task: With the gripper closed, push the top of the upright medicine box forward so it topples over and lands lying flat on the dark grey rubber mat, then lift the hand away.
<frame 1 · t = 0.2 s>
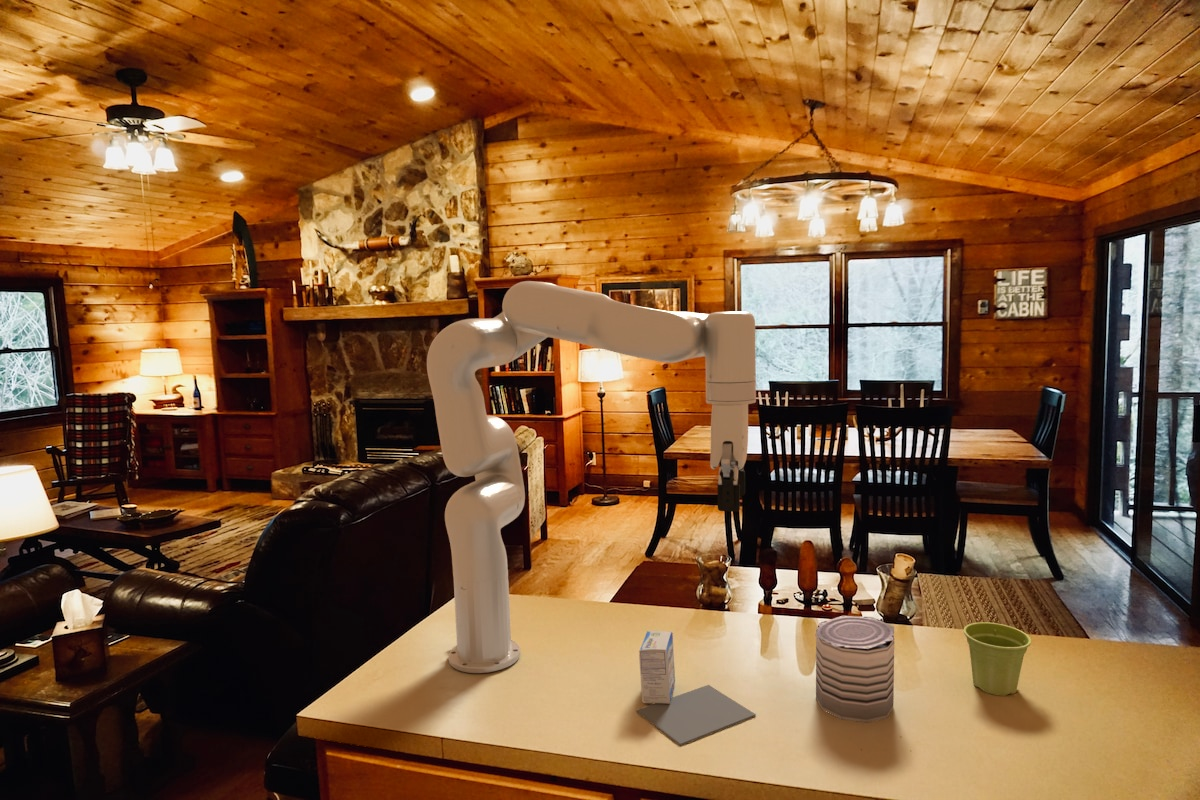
hand: (731, 502, 118), 31 cm above the worktop, tool pointing down, fingers open, 9 cm apart
can: (854, 704, 116), on the worktop
medicine box: (659, 694, 121), on the worktop, touching mat
plant pot: (995, 688, 120), on the worktop
mat: (695, 713, 114), on the worktop
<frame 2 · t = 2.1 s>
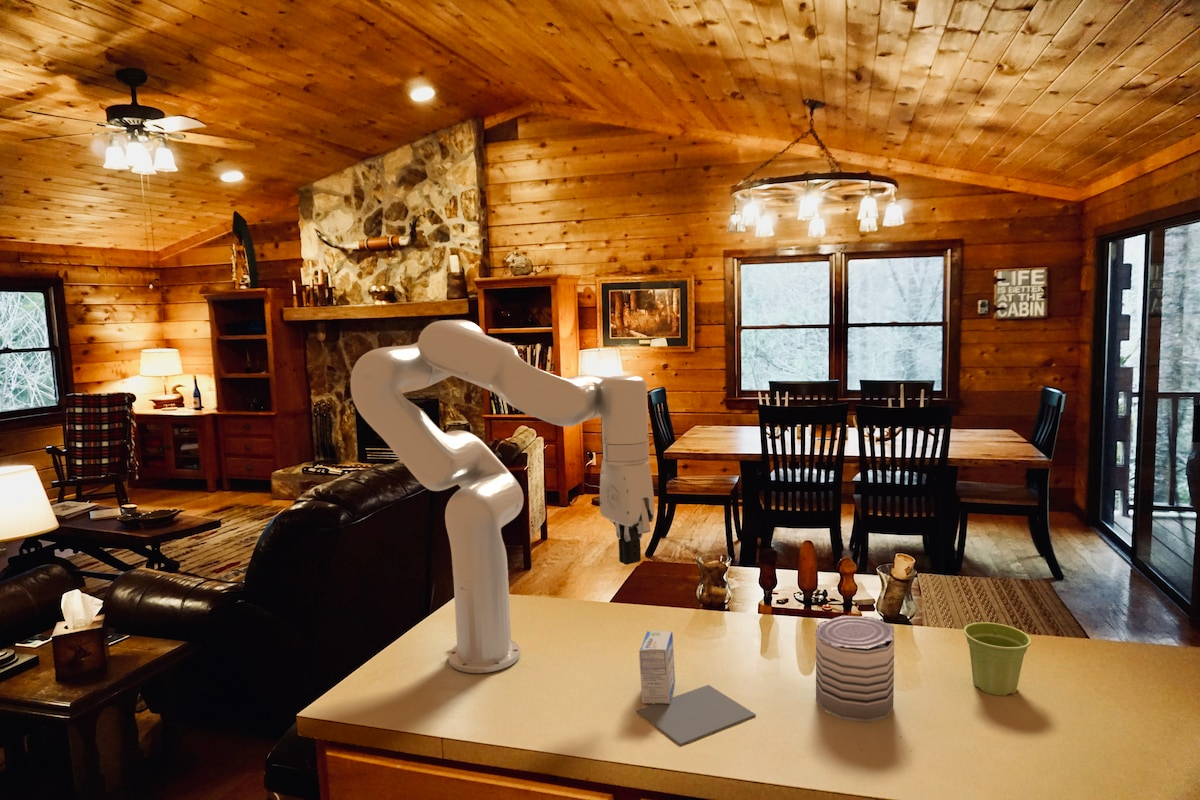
hand: (630, 561, 125), 20 cm above the worktop, tool pointing down, fingers closed
nothing on the worktop moved.
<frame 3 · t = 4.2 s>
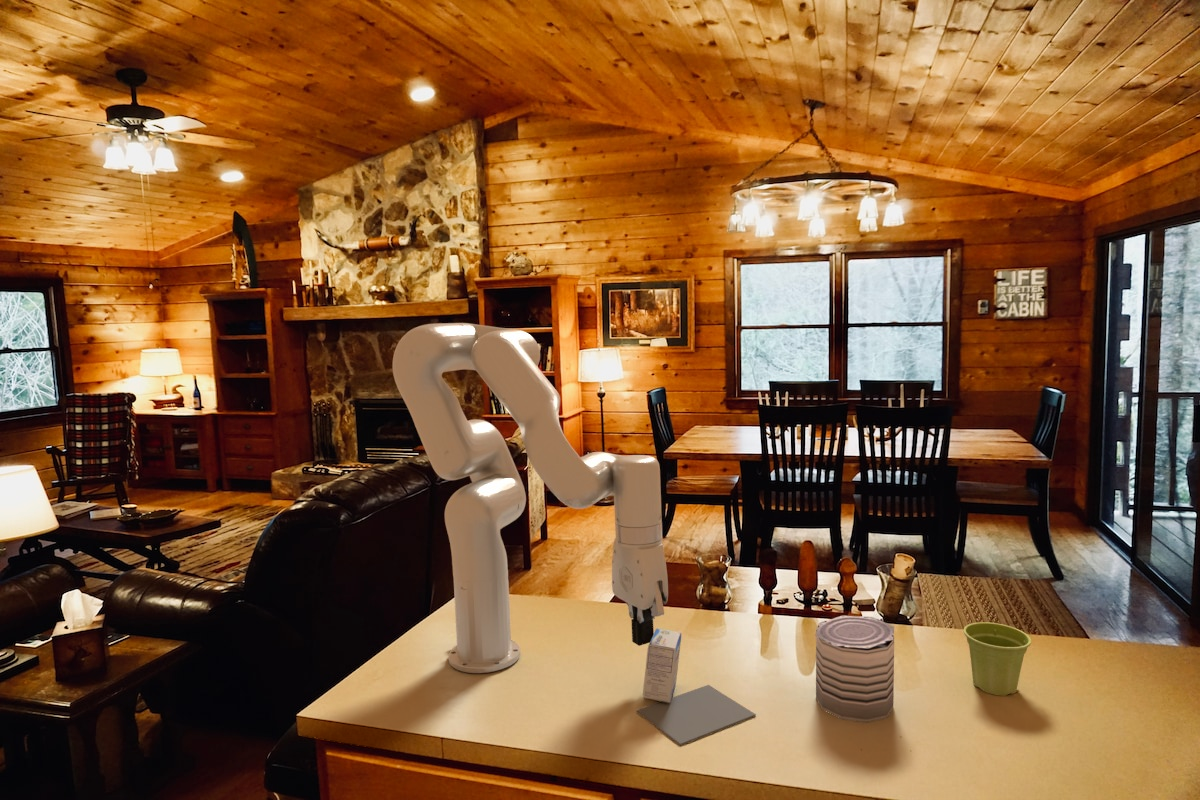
hand: (643, 641, 124), 7 cm above the worktop, tool pointing down, fingers closed
medicine box: (659, 692, 121), on the worktop, touching gripper
everything else where it was.
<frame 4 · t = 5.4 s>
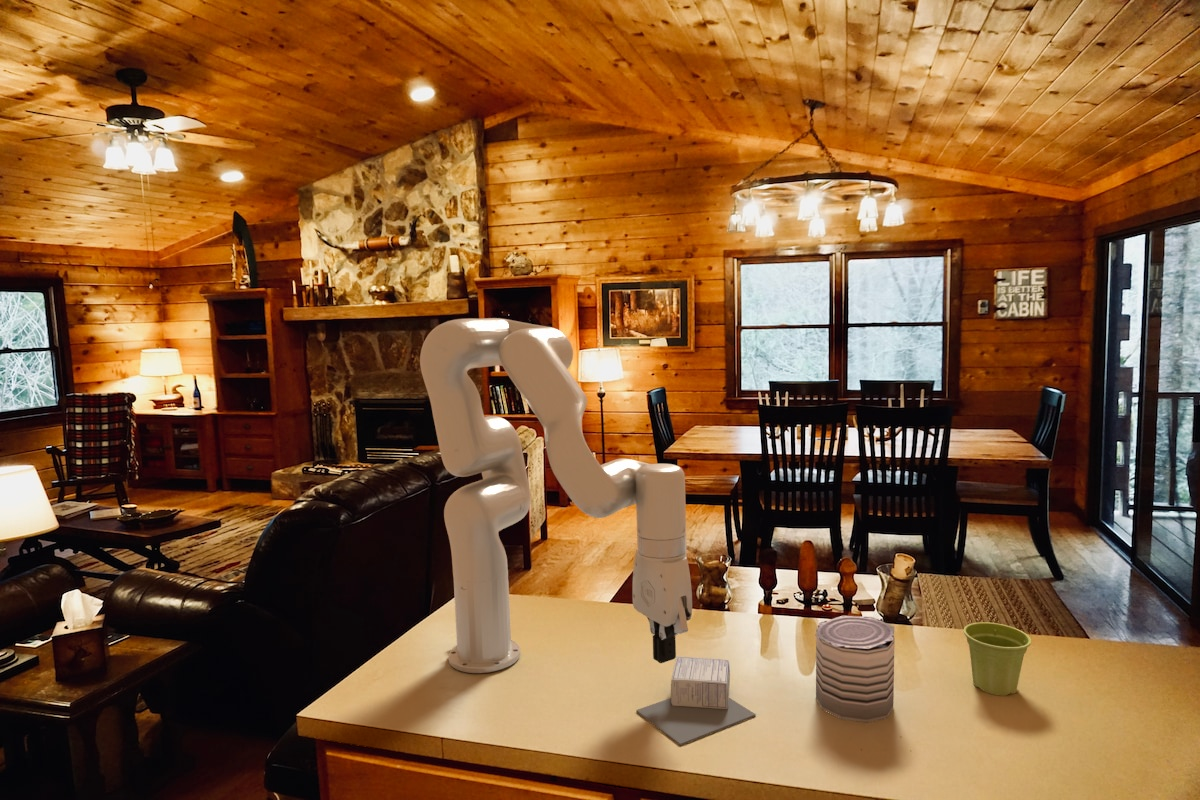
hand: (664, 659, 119), 6 cm above the worktop, tool pointing down, fingers closed
medicine box: (672, 679, 120), point 3 cm above the worktop, touching mat
everything else where it was.
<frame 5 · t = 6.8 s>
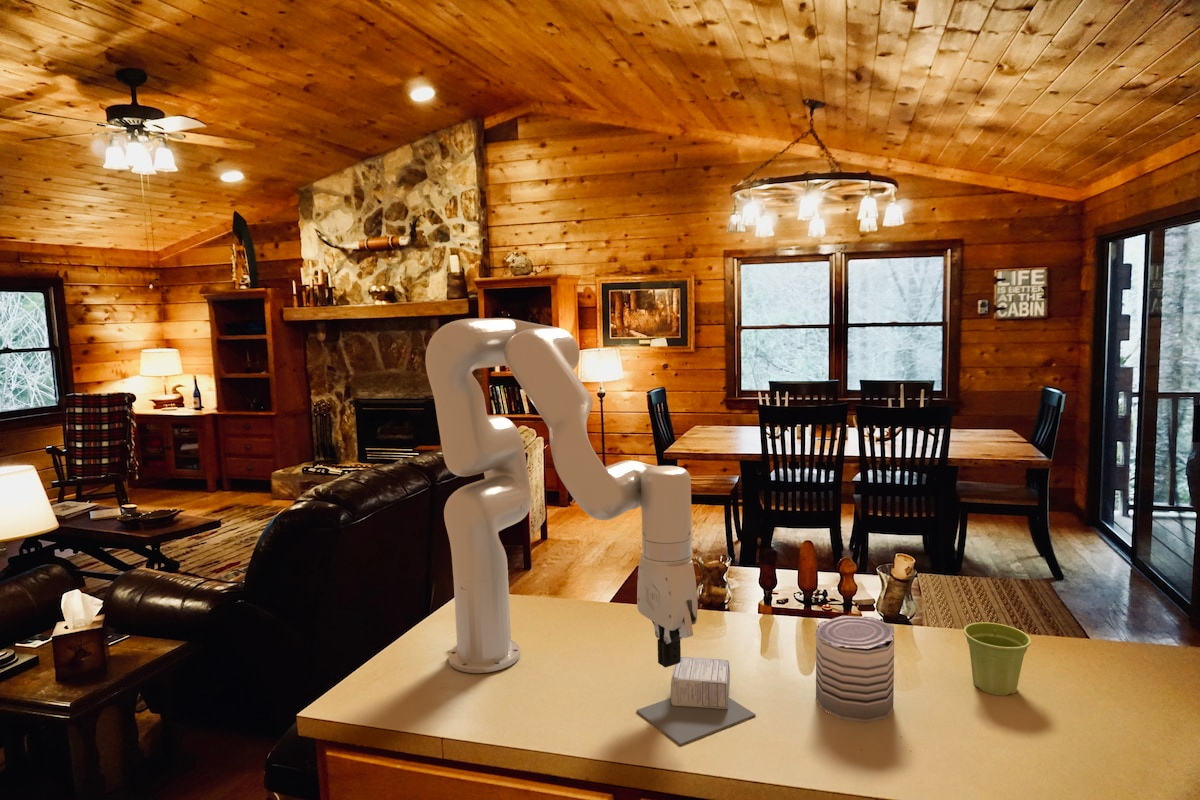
hand: (669, 663, 117), 6 cm above the worktop, tool pointing down, fingers closed
nothing on the worktop moved.
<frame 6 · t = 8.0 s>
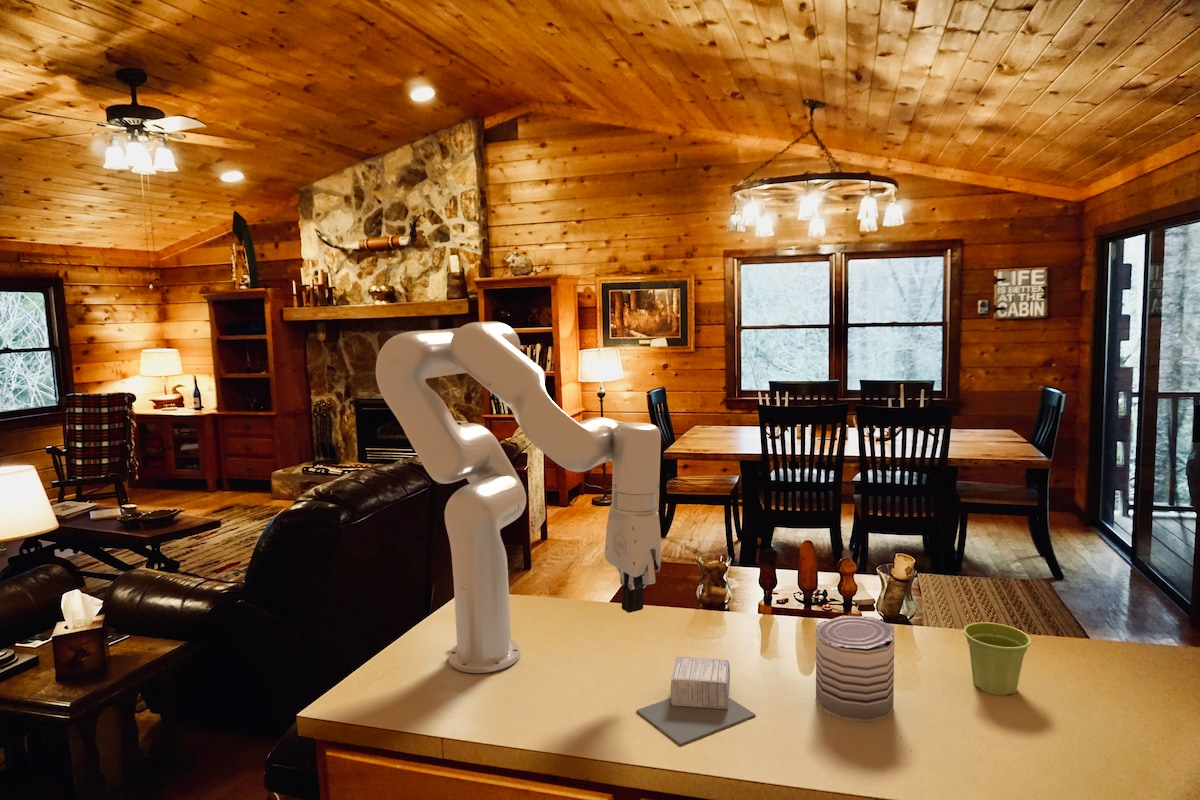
hand: (632, 609, 124), 12 cm above the worktop, tool pointing down, fingers closed
nothing on the worktop moved.
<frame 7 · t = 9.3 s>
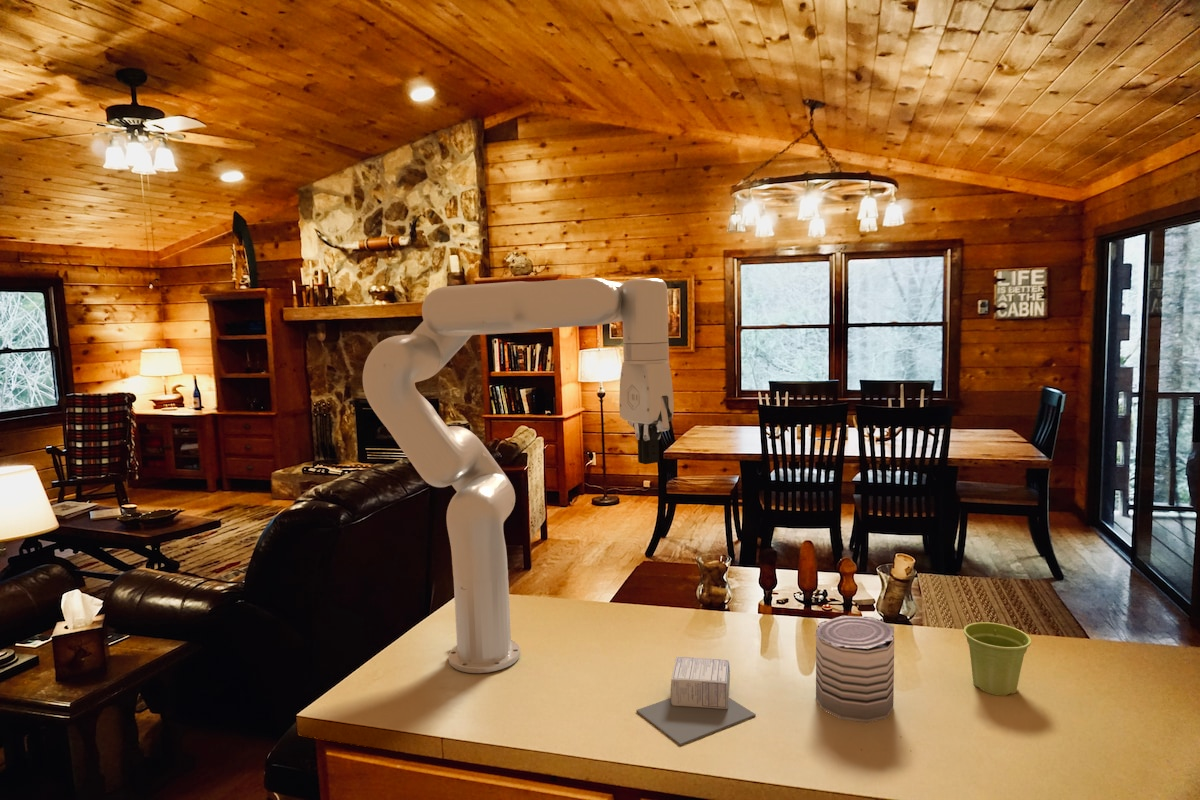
hand: (648, 462, 128), 35 cm above the worktop, tool pointing down, fingers closed
nothing on the worktop moved.
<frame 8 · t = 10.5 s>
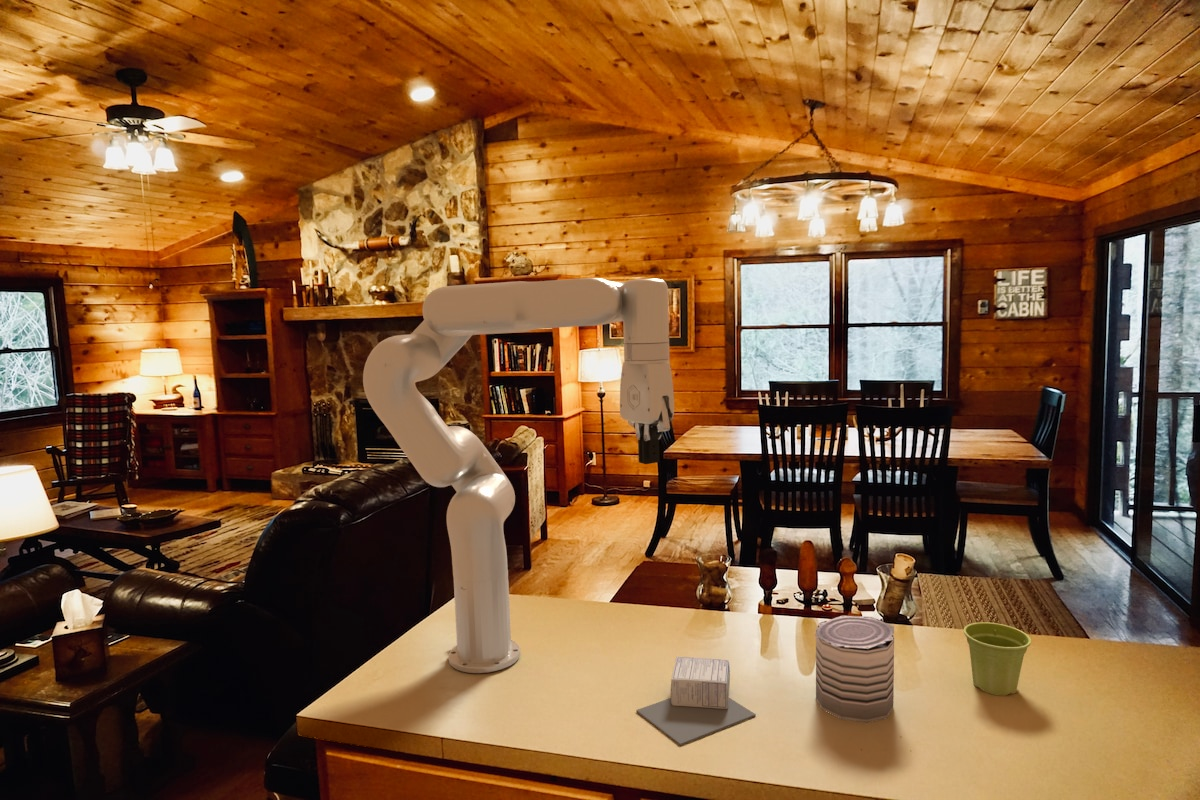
hand: (649, 462, 128), 35 cm above the worktop, tool pointing down, fingers closed
nothing on the worktop moved.
at the end: medicine box tilted 90°; medicine box inside the target area (6.5 cm from its centre), point 2.6 cm above the worktop; medicine box moved 3.3 cm from its start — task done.
